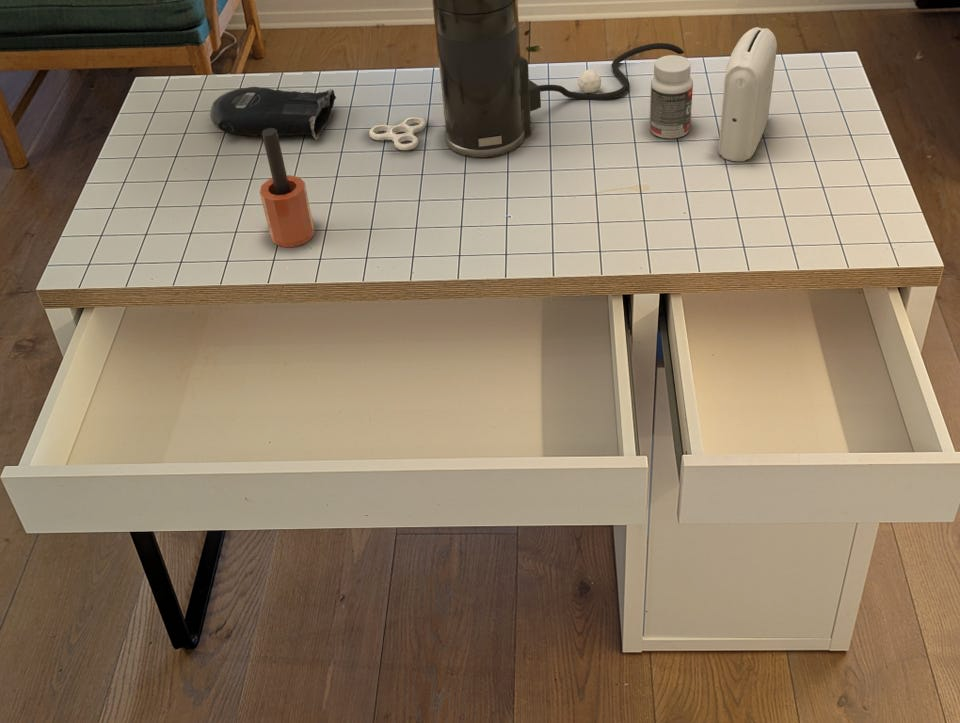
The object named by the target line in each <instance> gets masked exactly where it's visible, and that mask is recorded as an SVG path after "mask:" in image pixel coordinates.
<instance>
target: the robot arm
mask: <svg viewBox="0 0 960 723" xmlns="http://www.w3.org/2000/svg"><path fill="white" fill-rule="evenodd" d="M431 1H432V9H433V10H432V11H433V21H434V28H435V29H434V30H435V38H436V48H437V49H436V50H437V58H438V68H439V75H440V87H441V97H442V106H443V117H444V129H445V131H444V135H445V142H446V145H447V146H448V147H449V148H450V150H452V151H454V152H455V153H458V154H460V155H462V156H467V157H473V158H489V157H490V158H491V157H496V156H500V155H503V154H504V155H505V154H507V153H509V152H511V151H513V150H515V149H516V148H518V147H519V146H520V145H521V144H522V143H523V142H524V140H525V138H527V137H529V136H531V135H532V120H531V112H533V111H535V110H539V109H541V108H542V102H541V100H542V98H541V92H557V93H560V94H561V95H563V96H564V97H566V98H569V99H575V100H588V101H589V100H591V101H592V100H593V101H594V100H595V101H600V100H602V101H603V100H611V99H615V98H618V97H620V96H622V95H624V94H625V93H628V91H629V89H630V85H631V84H630V81H629V79H628V77H627V76H626V75H625V74H624V73H623V71H621V70H620V68H619V67H618V65H620V63H621V62H623V61H625V60H626V59H628V58H631V57H633V56H635V55H637V54H641V53H644V52H647V51H648V52H649V51H653V50H654V51H655V50H667V51H671V52H673V53H676V54H678V55H682V54H685V51H684V50H683V49H682V48H681V47H679V46H678V45H675V44H671V43H666V42H655V43H654V42H653V43H648V44H644V45H639V46H637V47H634V48H632V49H630V50H628V51H626V52H623V53H622V54H620V55H618V56H617V57H616V58H614V59H613V60H612V63H611V70H612V72H613V73H614V74H615V76H616V77H617V78H618V79H619V80H620V81H621V83H622V85H623V86H622V87H620V88H618V89H617V90H614V91H610V92H604V93H593V94H590V93H584V92H577V91H570V90H568V89H566V87H564V86H562V85H559V84H539V85H538V84H537V83H535V82H534V81H532V80H530V75H529V74H530V72H529V61H528V59H527V58H525V57H523V55H521V41H520V40H521V39H520V21H519V19H520V18H519V0H431ZM153 3H154V4H155V5H159V4H162V3H164V0H153Z"/></svg>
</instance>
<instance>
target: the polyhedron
mask: <svg viewBox="0 0 960 723" xmlns="http://www.w3.org/2000/svg"><path fill="white" fill-rule="evenodd" d="M577 85H578V89H579V90H580V91H581V93H590V94H596V92H598V91H599V90H600V89H601V86H602V78H601V75H600V73H599V72H597V71H596V70H594V69H586V70H585V71H583V72H581V73H580V75H579V76H578V80H577Z"/></svg>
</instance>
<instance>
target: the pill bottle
mask: <svg viewBox="0 0 960 723" xmlns="http://www.w3.org/2000/svg"><path fill="white" fill-rule="evenodd" d="M691 66H692V65H691V61H690V60H689V59H688V58H687V57H684V56H681V55H675V54H673V55H672V54H670V55H669V54H668V55H664V56H661V57H658V58H657V59H656V60H655V61H654V66H653V77H652V78H651V80H650V96H649V98H650V101H649V124H648V125H649V126H648V127H649V131H650V133H651V134H653V135H654V136H656V137H657V138H661V139H678V138H682V137H684V136H685V135H687V134H688V133H689V132H690V130H691V123H692V122H691V120H692V108H693V106H692V104H693V90H694V80H693V78H692V77H691Z"/></svg>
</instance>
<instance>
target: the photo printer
mask: <svg viewBox="0 0 960 723" xmlns="http://www.w3.org/2000/svg"><path fill="white" fill-rule="evenodd" d="M777 44H778V41H777V38H776V35H775V34H774V32H772V30H771V29H769V28H761V27H759V26H755V27H753V28H751V29H749V30H748V31H746V32H745V33H744V34H743V35H742V36H741V37H740V39H739V40H738V41H737V42H736V44H735V47H734V48H733V50H732V52H731V55H730V56H729V59H728V62H727V64H726V69H725V73H724V74H725V75H724V83H723V94H722V105H721V116H720V129H719V138H718V155H719V156H721V157H722V158H723V159H725V160H727V161H731V162H745V161H747V160H750V159H751V158H752V157H753V156H754V154H755V152H756V150H757V148H758V146H759V143H760V142H761V139H762V137H763V134H764V131H765V129H766V126H767V123H768V119H769V114H770V107H771V100H772V91H773V83H774V75H775V67H776V58H777V51H778V50H777V49H778V45H777Z"/></svg>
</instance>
